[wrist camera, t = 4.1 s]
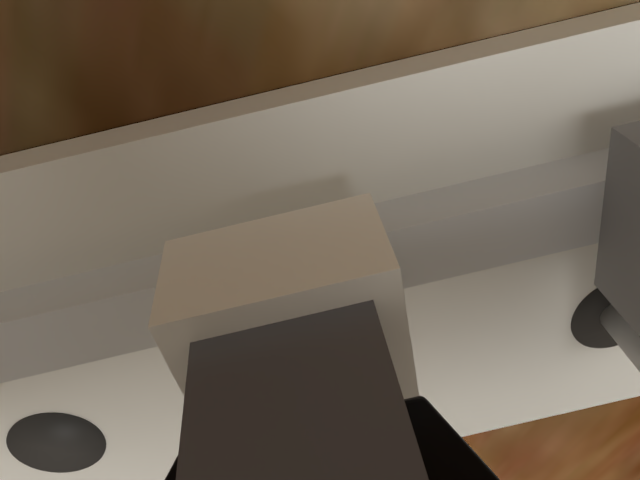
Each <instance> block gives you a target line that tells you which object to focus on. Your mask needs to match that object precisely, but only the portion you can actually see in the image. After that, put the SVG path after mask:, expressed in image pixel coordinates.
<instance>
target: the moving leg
mask: <svg viewBox="0 0 640 480" xmlns="http://www.w3.org/2000/svg"><path fill="white" fill-rule="evenodd" d="M148 329H149V331H150V332H151V334H152V336H153V338H154V340H155V342H156V344H157V346H158V348H159V350H160V351H161V353H162V355H163V357H164V359H165V361H166V363H167V365H168V367H169V369H170V371H171V372H172V374H173V376H174V378H175V380H176V382H177V384H178V386H179V388H180V390H181V391H182V393H183V395H184V404H183V414H182V424H181V433H180V443H179V452H178V462H177V471H176V480H429V479H428V475H427V472H426V469H425V466H424V462H423V459H422V456H421V453H420V450H419V446H418V443H417V440H416V437H415V433H414V430H413V427H412V424H411V420H410V417H409V414H408V411H407V407H406V404H405V401H404V399H407V398H412V397H416V396H419V390H418V384H417V377H416V370H415V364H414V357H413V350H412V343H411V337H410V330H409V323H408V317H407V310H406V303H405V296H404V290H403V283H402V276H401V270H400V266H399V264H398V261H397V259H396V256H395V254H394V251H393V249H392V246H391V244H390V241H389V239H388V236H387V234H386V231H385V229H384V226H383V224H382V221H381V219H380V216H379V214H378V211H377V209H376V206H375V204H374V201H373V199H372V196H371V194H370V193H366V194H362V195H358V196H354V197H349V198H345V199H341V200H337V201H333V202H328V203H324V204H320V205H316V206H311V207H307V208H303V209H299V210H295V211H290V212H286V213H282V214H278V215H274V216H269V217H265V218H261V219H257V220H252V221H248V222H244V223H240V224H236V225H231V226H227V227H223V228H219V229H215V230H210V231H206V232H202V233H198V234H193V235H189V236H185V237H181V238H177V239H172V240H168V241H165V245H164V250H163V255H162V260H161V265H160V270H159V275H158V280H157V285H156V290H155V295H154V300H153V305H152V310H151V315H150V320H149V325H148Z"/></svg>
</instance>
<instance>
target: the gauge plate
mask: <svg viewBox="0 0 640 480" xmlns="http://www.w3.org/2000/svg"><path fill="white" fill-rule="evenodd" d="M366 193H370V194H371V196H372V199H373V201H374V204H375V206H376V209H377V211H378V214H379V216H380V219H381V221H382V224H383V226H384V229H385V231H386V234H387V236H388V239H389V241H390V244H391V246H392V249H393V251H394V254H395V256H396V259H397V261H398V264H399V266H400V270H401V276H402V283H403V290H404V296H405V303H406V310H407V317H408V323H409V330H410V337H411V343H412V350H413V357H414V364H415V370H416V377H417V384H418V390H419V396H423V397H425V398H426V399H427V400H428V401H429V402H430V403H431V404H432V405H433V406H434V408H435V409H436V410H437V411H438V412H439V413H440V414H441V415H442V416H443V418H444V419H445V420H446V421H447V422H448V423H449V424H450V425H451V426H452V427H453V429H454V430H455V431H456V432H457V433H458V434H459V435H460V436H461V437H464V436H468V435H472V434H477V433H481V432H485V431H490V430H494V429H498V428H503V427H507V426H511V425H516V424H520V423H524V422H529V421H533V420H537V419H542V418H546V417H550V416H555V415H559V414H564V413H568V412H572V411H577V410H581V409H585V408H590V407H594V406H598V405H603V404H607V403H611V402H616V401H620V400H624V399H629V398H633V397H637V396H640V2H639V3H634V4H630V5H626V6H622V7H618V8H614V9H609V10H605V11H601V12H597V13H593V14H589V15H585V16H580V17H576V18H572V19H568V20H564V21H560V22H555V23H551V24H547V25H543V26H539V27H535V28H530V29H526V30H522V31H518V32H514V33H510V34H505V35H501V36H497V37H493V38H489V39H485V40H481V41H476V42H472V43H468V44H464V45H460V46H456V47H451V48H447V49H443V50H439V51H435V52H431V53H426V54H422V55H418V56H414V57H410V58H406V59H402V60H397V61H393V62H389V63H385V64H381V65H377V66H372V67H368V68H364V69H360V70H356V71H352V72H347V73H343V74H339V75H335V76H331V77H327V78H322V79H318V80H314V81H310V82H306V83H302V84H298V85H293V86H289V87H285V88H281V89H277V90H273V91H268V92H264V93H260V94H256V95H252V96H248V97H243V98H239V99H235V100H231V101H227V102H223V103H218V104H214V105H210V106H206V107H202V108H198V109H194V110H189V111H185V112H181V113H177V114H173V115H169V116H164V117H160V118H156V119H152V120H148V121H144V122H139V123H135V124H131V125H127V126H123V127H119V128H115V129H110V130H106V131H102V132H98V133H94V134H90V135H85V136H81V137H77V138H73V139H69V140H65V141H60V142H56V143H52V144H48V145H44V146H40V147H35V148H31V149H27V150H23V151H19V152H15V153H11V154H6V155H2V156H0V480H165V478H166V476H167V474H168V472H169V471H170V469H171V467H172V465H173V463H174V461H175V459H176V457H177V456H178V452H179V443H180V433H181V424H182V414H183V404H184V395H183V393H182V391H181V390H180V388H179V386H178V384H177V382H176V380H175V378H174V376H173V374H172V372H171V371H170V369H169V367H168V365H167V363H166V361H165V359H164V357H163V355H162V353H161V351H160V350H159V348H158V346H157V344H156V342H155V340H154V338H153V336H152V334H151V332H150V331H149V329H148V325H149V320H150V315H151V310H152V305H153V300H154V295H155V290H156V285H157V280H158V275H159V270H160V265H161V260H162V255H163V250H164V245H165V241H168V240H172V239H177V238H181V237H185V236H189V235H193V234H198V233H202V232H206V231H210V230H215V229H219V228H223V227H227V226H231V225H236V224H240V223H244V222H248V221H252V220H257V219H261V218H265V217H269V216H274V215H278V214H282V213H286V212H290V211H295V210H299V209H303V208H307V207H311V206H316V205H320V204H324V203H328V202H333V201H337V200H341V199H345V198H349V197H354V196H358V195H362V194H366Z"/></svg>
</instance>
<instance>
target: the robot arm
mask: <svg viewBox="0 0 640 480" xmlns="http://www.w3.org/2000/svg"><path fill="white" fill-rule="evenodd" d="M404 401H405V404H406V407H407V411H408V414H409V417H410V420H411V424H412V427H413V430H414V433H415V437H416V440H417V443H418V446H419V450H420V453H421V456H422V459H423V462H424V466H425V469H426V472H427V475H428V479H429V480H500V479H499V478H498V477H497V476H496V475H495V474H494V473H493V472H492V471H491V469H490V468H489V467H488V466H487V465H486V464H485V463H484V462H483V461H482V459H481V458H480V457H479V456H478V455H477V454H476V453H475V452H474V451H473V450H472V448H471V447H470V446H469V445H468V444H467V443H466V442H465V441H464V440H463V438H462V437H461V436H460V435H459V434H458V433H457V432H456V431H455V430H454V429H453V427H452V426H451V425H450V424H449V423H448V422H447V421H446V420H445V419H444V418H443V416H442V415H441V414H440V413H439V412H438V411H437V410H436V409H435V408H434V406H433V405H432V404H431V403H430V402H429V401H428V400H427V399H426V398H425V397H423V396H416V397H412V398H407V399H404ZM177 462H178V456H177V457H176V459H175V461H174V463H173V465H172V467H171V469H170V471H169V472H168V474H167V476H166V478H165V480H176V471H177Z"/></svg>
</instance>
